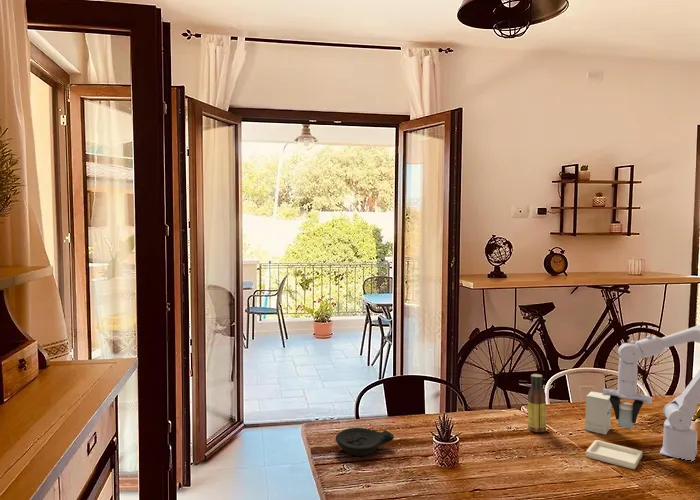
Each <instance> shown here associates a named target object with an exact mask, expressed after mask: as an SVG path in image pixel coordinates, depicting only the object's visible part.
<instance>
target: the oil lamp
mask: <svg viewBox="0 0 700 500" xmlns="http://www.w3.org/2000/svg"><path fill="white" fill-rule="evenodd" d="M394 438H395V436H394V434H393V433H391V432H390V431H388V430H386V429H385V430H383V431H380V432H379V431H376V430H375V429H372V430H371V429H368V428H365V427H364V428H363V427H350V428H346V429H343V430H341V431H340V432H338V433H337V434H336V436H335V441H336V444H337V445H338V446H339V447H340V448H341V449H342V450H343V451H344V452H345V453H347V454H350V455H353V456H357V457H362V456H367V455H369V454H372V453H374V451H376V450H377V449H378V448H380V446H383V445H385V444H388V443H389V442H392V441H393V440H394Z"/></svg>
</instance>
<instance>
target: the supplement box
mask: <svg viewBox="0 0 700 500" xmlns="http://www.w3.org/2000/svg"><path fill="white" fill-rule="evenodd" d="M585 397H586V399H585V413H584V414H585V415H584V416H585V419H584V420H585V421H584V430H585V431H588V432H592V433H597V434H602V435H607V433H608V432H609V431H610V430H611V425H612V424H611V423H612V419H611V418H612V404H611V402H610V396H608V395H606V396H605V395H603V392H596V391H590V392H589V393H588V394H586V396H585Z"/></svg>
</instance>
